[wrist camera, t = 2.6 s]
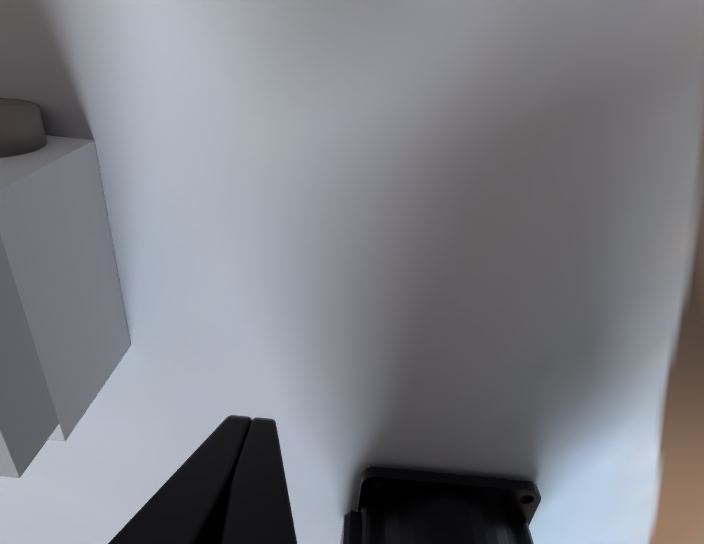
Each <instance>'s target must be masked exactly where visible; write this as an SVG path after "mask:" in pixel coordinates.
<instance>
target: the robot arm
mask: <svg viewBox="0 0 704 544" xmlns="http://www.w3.org/2000/svg"><path fill="white" fill-rule="evenodd" d="M540 501H541V496H540V493H539V490H538V487H537V485H536V484H534V483H533V482H530V481H522V480H511V479H500V478H489V477H478V476H467V475H456V474H446V473H435V472H424V471H413V470H402V469H391V468H380V467H371V468H368V469H366V470H365V471H363V473H362V476H361V482H360V489H359V495H358V501H357V508H356V511H355V510H350V511H349V512H348V513H347V514H346V515H344V522H343V529H342V537H341V544H533V540H532V537H531V533H530V530H529V524H530V522H531V520H532V518H533V516H534V513H535V511H536V509H537V507H538V505H539V503H540ZM108 544H297V540H296V535H295V529H294V523H293V518H292V512H291V506H290V501H289V495H288V489H287V484H286V478H285V472H284V467H283V461H282V455H281V450H280V444H279V438H278V433H277V427H276V422H275V420H273V419H267V418H254V419H253V420H252V419H251V418H250V417H247V416H236V415H231V416H228V417H227V418H226V419H225V420H224V421H223V422H222V423H221V424H220V425H219V426H218V427H217V429H216V430H215V431H214V432H213V433H212V434H211V435H210V436H209V437H208V438H207V439H206V440H205V441H204V442H203V443H202V444H201V446H200V447H199V448H198V449H197V450H196V451H195V452H194V453H193V454H192V455H191V456H190V457H189V458H188V459H187V460H186V461H185V463H184V464H183V465H182V466H181V467H180V468H179V469H178V470H177V471H176V472H175V473H174V474H173V475H172V476H171V477H170V478H169V480H168V481H167V482H166V483H165V484H164V485H163V486H162V487H161V488H160V489H159V490H158V491H157V492H156V493H155V494H154V495H153V497H152V498H151V499H150V500H149V501H148V502H147V503H146V504H145V505H144V506H143V507H142V508H141V509H140V510H139V511H138V513H137V514H136V515H135V516H134V517H133V518H132V519H131V520H130V521H129V522H128V523H127V524H126V525H125V526H124V527H123V528H122V530H121V531H120V532H119V533H118V534H117V535H116V536H115V537H114V538H113V539H112V540H111V541H110V542H109V543H108Z"/></svg>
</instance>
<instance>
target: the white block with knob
mask: <svg viewBox="0 0 704 544" xmlns="http://www.w3.org/2000/svg"><path fill="white" fill-rule="evenodd" d="M130 346H131V342H130V336H129V331H128V325H127V320H126V314H125V308H124V303H123V297H122V292H121V286H120V281H119V275H118V270H117V264H116V258H115V253H114V247H113V242H112V236H111V231H110V225H109V220H108V214H107V208H106V203H105V197H104V192H103V186H102V181H101V175H100V170H99V164H98V159H97V153H96V147H95V142H94V140H88V139H79V138H69V137H60V136H50V135H45V131H44V127H43V123H42V118H41V114H40V110H39V106H38V105H37V104H35V103H32V102H28V101H23V100H16V99H3V98H0V476H4V477H15V478H20V477H21V475H22V474H23V473H24V471H25V470H26V469H27V467H28V466H29V464H30V463H31V462H32V460H33V459H34V458H35V456H36V455H37V453H38V452H39V451H40V449H41V448H42V447H43V445H44V444H45V442H46V441H47V440H55V441H66V439H67V438H68V436H69V435H70V434H71V432H72V431H73V429H74V428H75V426H76V425H77V423H78V422H79V420H80V419H81V418H82V416H83V415H84V413H85V412H86V410H87V409H88V407H89V406H90V404H91V403H92V401H93V400H94V399H95V397H96V396H97V394H98V393H99V391H100V390H101V388H102V387H103V385H104V384H105V382H106V381H107V380H108V378H109V377H110V375H111V374H112V372H113V371H114V369H115V368H116V366H117V365H118V363H119V362H120V361H121V359H122V358H123V356H124V355H125V353H126V352H127V350H128V349H129V347H130Z"/></svg>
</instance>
